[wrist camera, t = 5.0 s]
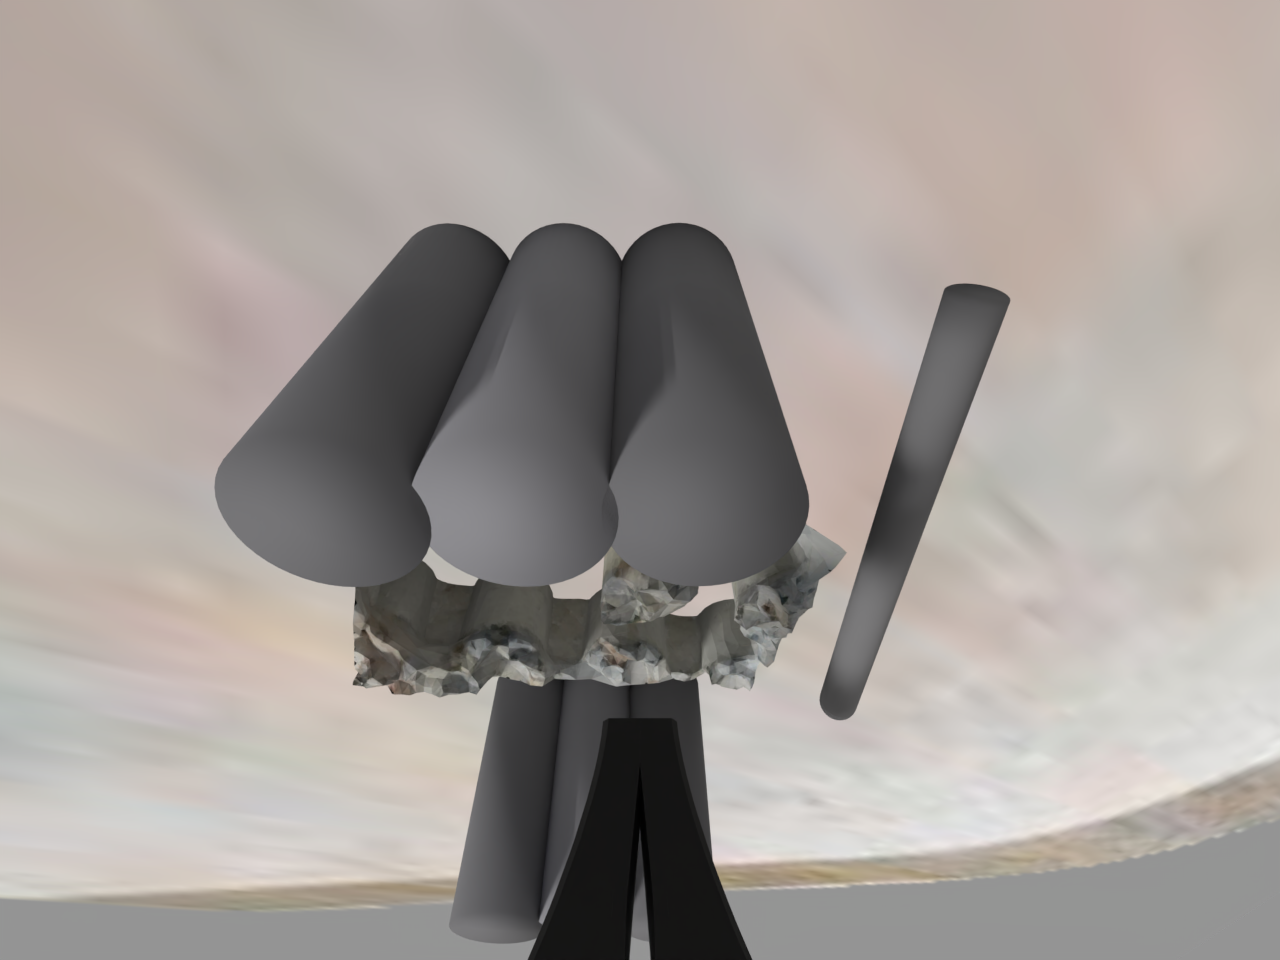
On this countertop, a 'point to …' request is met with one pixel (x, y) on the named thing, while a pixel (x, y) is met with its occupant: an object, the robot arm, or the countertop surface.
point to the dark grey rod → (913, 481)
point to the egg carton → (580, 628)
